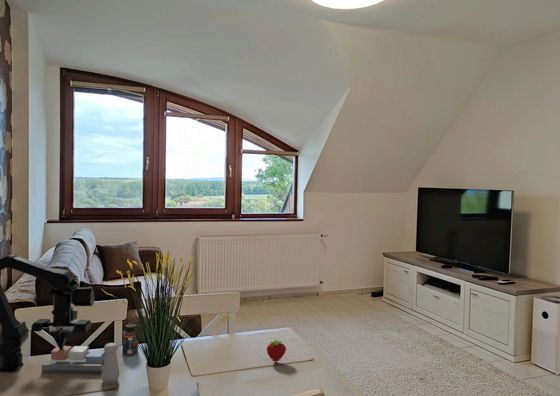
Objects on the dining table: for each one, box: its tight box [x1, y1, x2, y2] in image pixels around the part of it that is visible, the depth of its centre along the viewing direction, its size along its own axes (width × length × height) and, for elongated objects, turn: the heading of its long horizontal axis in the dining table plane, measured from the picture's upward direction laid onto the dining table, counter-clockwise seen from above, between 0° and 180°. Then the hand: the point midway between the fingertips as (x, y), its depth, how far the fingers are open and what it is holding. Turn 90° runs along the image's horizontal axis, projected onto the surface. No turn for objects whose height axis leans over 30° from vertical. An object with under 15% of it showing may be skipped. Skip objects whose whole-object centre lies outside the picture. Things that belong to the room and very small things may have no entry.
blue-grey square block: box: [86, 350, 105, 364], centre depth 154 cm, size 5×5×3 cm
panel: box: [41, 350, 106, 376], centre depth 154 cm, size 20×12×3 cm, turn 93°
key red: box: [50, 345, 73, 361], centre depth 154 cm, size 5×5×3 cm
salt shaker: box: [100, 342, 121, 386], centre depth 144 cm, size 6×6×13 cm
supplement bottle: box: [121, 323, 139, 357], centre depth 167 cm, size 6×6×11 cm
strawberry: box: [266, 338, 287, 362], centre depth 164 cm, size 6×8×10 cm
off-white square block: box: [68, 345, 89, 360], centre depth 154 cm, size 5×5×3 cm
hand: (61, 348), depth 154 cm, fingers closed, pressing on key red
